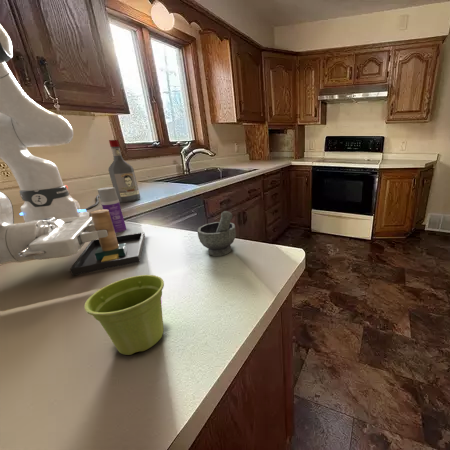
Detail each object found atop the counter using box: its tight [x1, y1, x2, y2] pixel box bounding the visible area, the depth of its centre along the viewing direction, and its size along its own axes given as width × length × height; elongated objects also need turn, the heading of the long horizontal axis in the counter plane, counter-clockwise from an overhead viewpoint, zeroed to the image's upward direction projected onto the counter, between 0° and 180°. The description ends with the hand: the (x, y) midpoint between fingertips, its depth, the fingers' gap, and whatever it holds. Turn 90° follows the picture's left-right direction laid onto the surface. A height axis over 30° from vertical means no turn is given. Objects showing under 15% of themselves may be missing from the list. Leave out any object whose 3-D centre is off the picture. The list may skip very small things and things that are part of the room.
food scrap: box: [101, 254, 119, 262], centre depth 61 cm, size 3×3×1 cm
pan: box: [69, 231, 146, 276], centre depth 66 cm, size 19×13×2 cm
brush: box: [89, 208, 127, 260], centre depth 62 cm, size 4×6×12 cm, turn 117°
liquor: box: [108, 139, 141, 203], centre depth 124 cm, size 9×9×30 cm
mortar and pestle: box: [197, 210, 237, 257], centre depth 65 cm, size 11×9×12 cm
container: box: [97, 186, 127, 234], centre depth 81 cm, size 5×5×15 cm
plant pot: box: [83, 274, 165, 356], centre depth 36 cm, size 9×9×9 cm
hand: (109, 229), depth 62 cm, fingers closed on brush, 3 cm apart
